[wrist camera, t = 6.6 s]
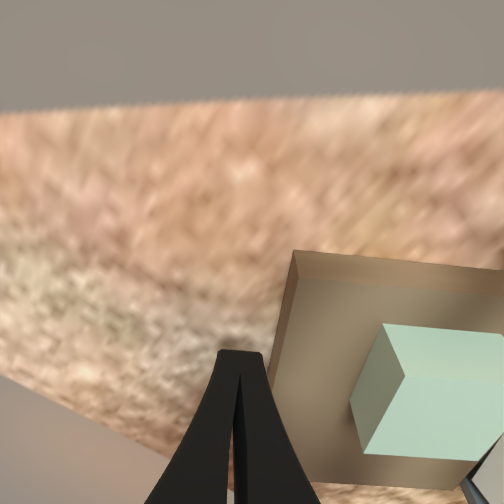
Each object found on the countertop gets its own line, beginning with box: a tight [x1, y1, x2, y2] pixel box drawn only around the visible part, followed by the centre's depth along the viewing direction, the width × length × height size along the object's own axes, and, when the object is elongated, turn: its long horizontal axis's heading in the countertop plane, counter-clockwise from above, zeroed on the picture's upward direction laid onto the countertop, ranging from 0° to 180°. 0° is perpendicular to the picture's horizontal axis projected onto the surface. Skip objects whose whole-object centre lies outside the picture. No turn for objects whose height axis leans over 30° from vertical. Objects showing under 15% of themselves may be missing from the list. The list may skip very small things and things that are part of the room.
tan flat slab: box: [267, 250, 504, 490], centre depth 14 cm, size 10×12×2 cm
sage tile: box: [349, 323, 504, 461], centre depth 11 cm, size 4×4×2 cm
